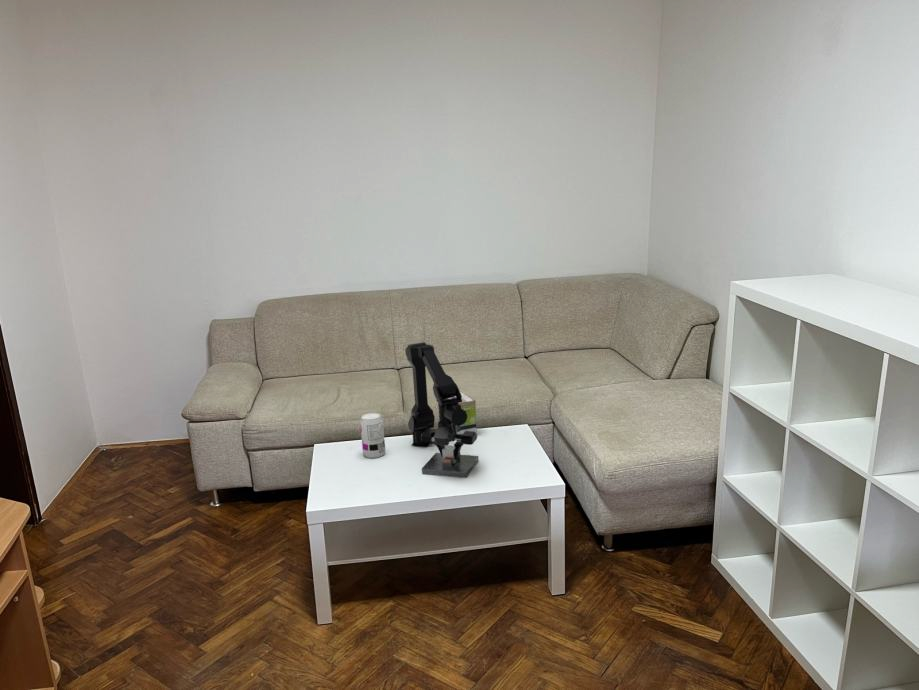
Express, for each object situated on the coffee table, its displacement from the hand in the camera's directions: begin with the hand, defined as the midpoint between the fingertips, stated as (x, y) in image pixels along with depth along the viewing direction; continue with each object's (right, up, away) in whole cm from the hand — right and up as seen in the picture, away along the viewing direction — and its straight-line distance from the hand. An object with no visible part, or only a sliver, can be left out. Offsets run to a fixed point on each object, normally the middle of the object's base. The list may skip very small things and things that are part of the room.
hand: (450, 459), depth 249 cm
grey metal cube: (0, -1, 0) cm, 1 cm away
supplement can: (-28, -1, +17) cm, 33 cm away
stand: (0, -3, +1) cm, 3 cm away
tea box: (+3, +5, +34) cm, 34 cm away
